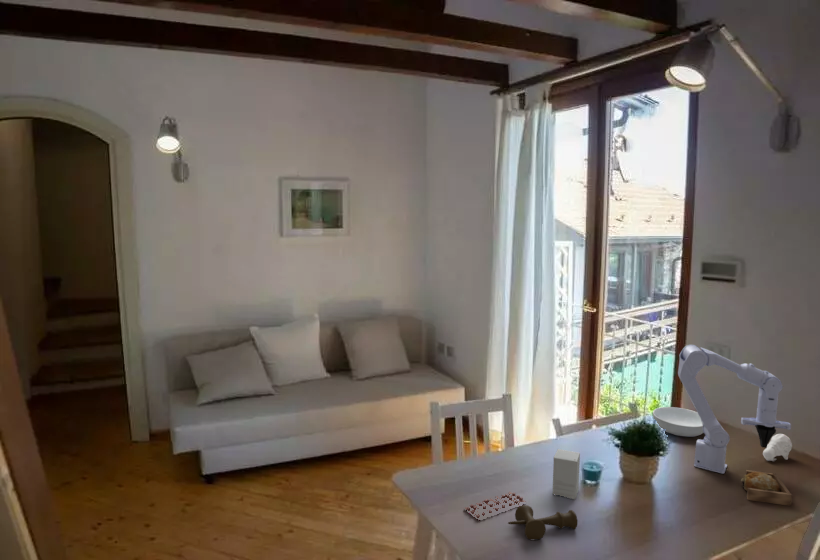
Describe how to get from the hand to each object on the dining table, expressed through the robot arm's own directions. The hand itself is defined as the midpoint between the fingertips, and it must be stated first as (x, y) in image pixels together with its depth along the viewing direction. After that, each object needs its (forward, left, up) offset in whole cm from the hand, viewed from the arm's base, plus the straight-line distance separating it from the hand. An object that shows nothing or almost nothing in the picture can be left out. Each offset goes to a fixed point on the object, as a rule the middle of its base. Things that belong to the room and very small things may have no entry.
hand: (763, 446), depth 192 cm
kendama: (-47, -79, -10) cm, 93 cm away
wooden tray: (+2, -16, -9) cm, 18 cm away
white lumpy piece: (+3, +16, -10) cm, 19 cm away
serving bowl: (-30, +21, -10) cm, 38 cm away
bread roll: (+1, -16, -10) cm, 18 cm away
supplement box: (-49, -55, -10) cm, 74 cm away
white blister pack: (-63, -77, -10) cm, 99 cm away
